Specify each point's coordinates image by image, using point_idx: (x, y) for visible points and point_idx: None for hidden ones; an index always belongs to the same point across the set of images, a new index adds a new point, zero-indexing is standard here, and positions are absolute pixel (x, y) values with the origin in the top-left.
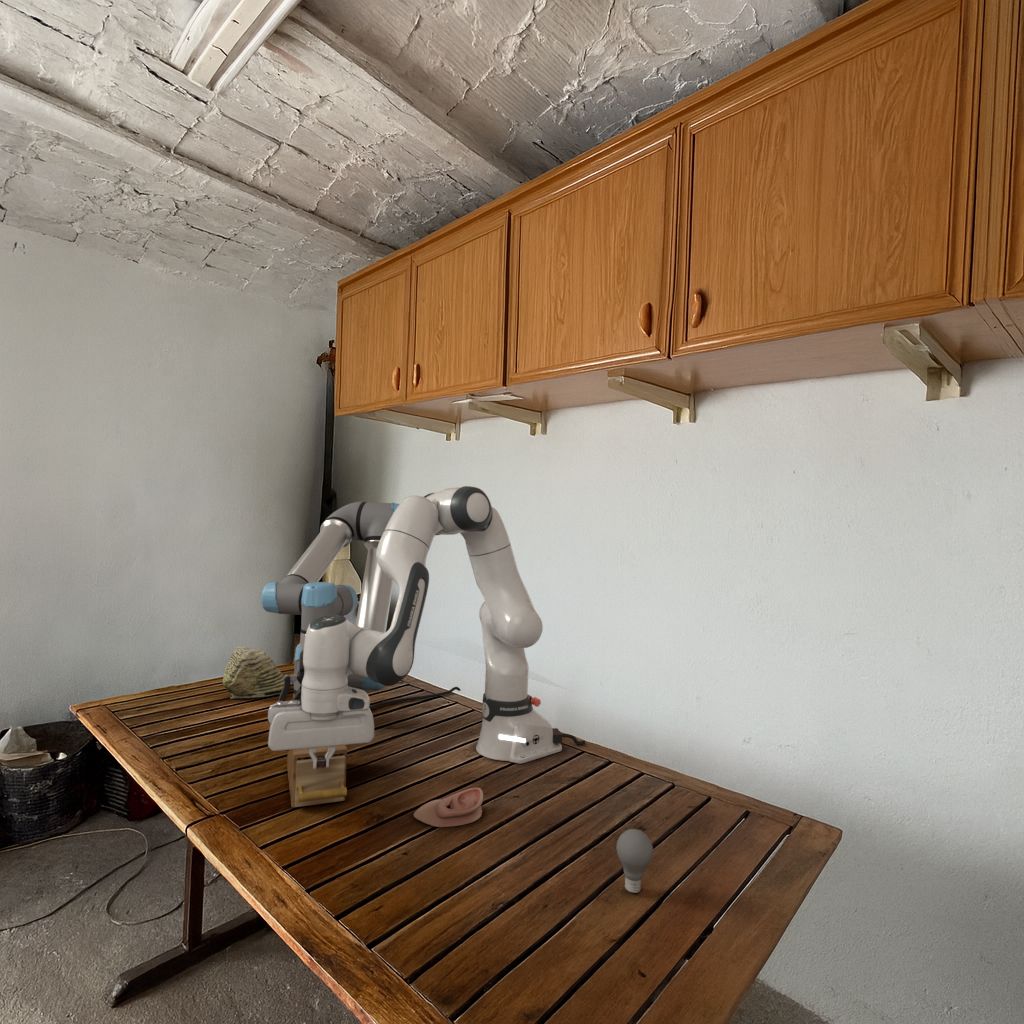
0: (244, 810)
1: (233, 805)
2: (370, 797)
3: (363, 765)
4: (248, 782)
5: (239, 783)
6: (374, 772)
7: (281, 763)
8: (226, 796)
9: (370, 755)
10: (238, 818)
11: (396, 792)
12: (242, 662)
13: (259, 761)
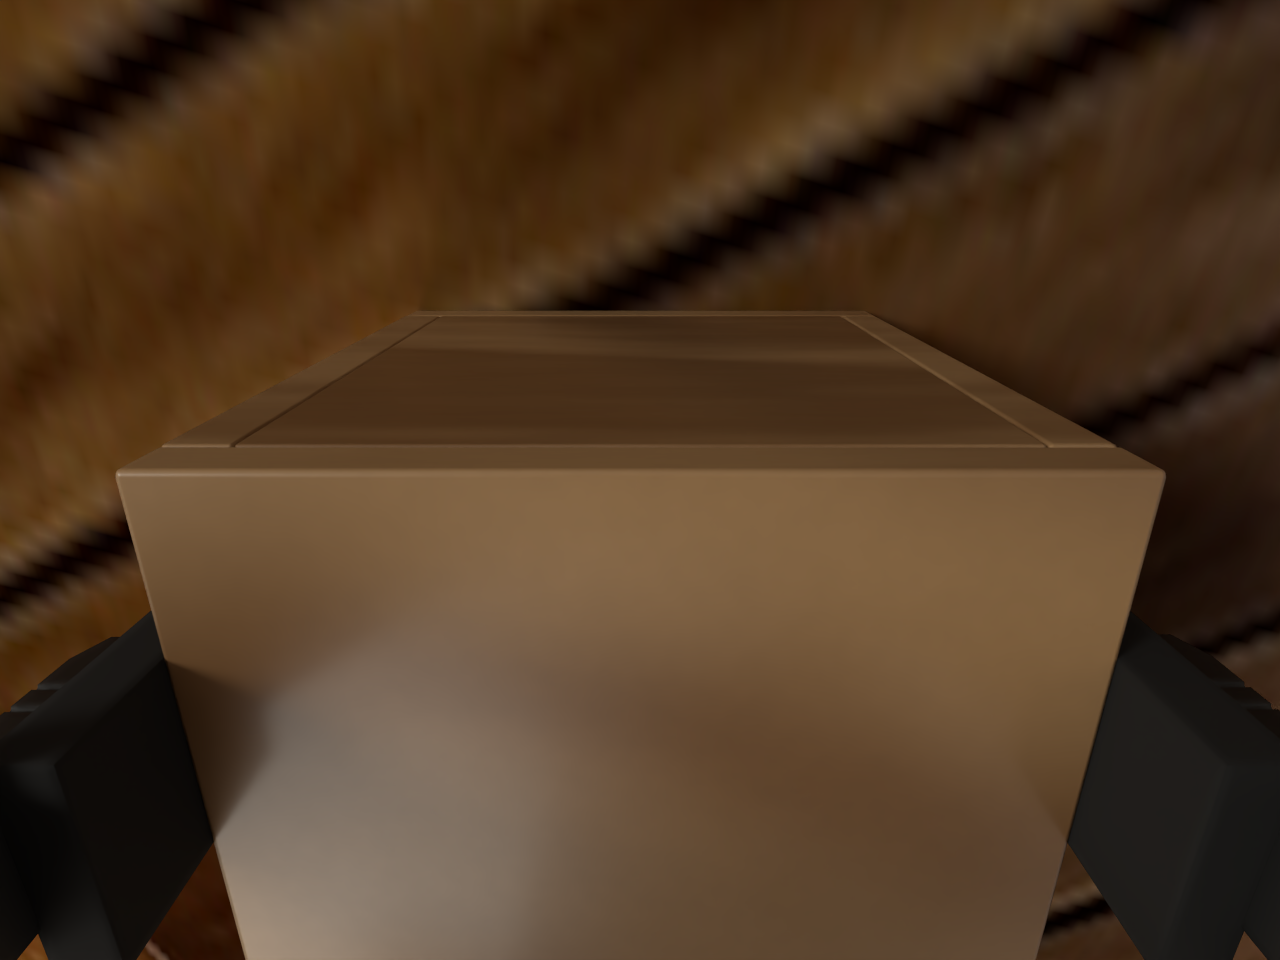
0: (201, 877)
1: None
2: None
3: (1105, 439)
4: (120, 510)
5: (50, 509)
6: (1135, 597)
7: (348, 162)
8: (23, 688)
9: (1271, 211)
10: (189, 943)
11: None
12: None
13: (100, 29)
